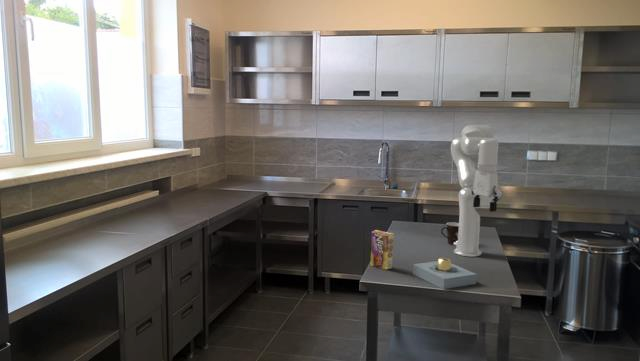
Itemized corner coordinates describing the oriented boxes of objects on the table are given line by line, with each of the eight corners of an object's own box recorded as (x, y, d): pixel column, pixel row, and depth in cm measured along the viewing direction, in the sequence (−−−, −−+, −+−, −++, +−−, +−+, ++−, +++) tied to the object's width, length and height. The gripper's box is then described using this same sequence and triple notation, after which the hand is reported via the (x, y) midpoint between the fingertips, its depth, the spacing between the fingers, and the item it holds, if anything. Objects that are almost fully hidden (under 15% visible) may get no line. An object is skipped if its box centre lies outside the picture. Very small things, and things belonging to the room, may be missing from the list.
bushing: (434, 277, 214) (435, 258, 213) (444, 276, 216) (445, 257, 215) (442, 281, 210) (443, 261, 209) (452, 279, 212) (453, 260, 211)
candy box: (392, 268, 226) (394, 233, 223) (386, 270, 222) (388, 234, 220) (376, 263, 232) (377, 229, 229) (370, 265, 228) (371, 231, 226)
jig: (412, 273, 218) (412, 264, 218) (443, 269, 225) (444, 260, 225) (443, 289, 201) (443, 278, 200) (476, 283, 207) (476, 274, 207)
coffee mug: (461, 241, 273) (462, 222, 272) (464, 246, 265) (465, 226, 263) (438, 240, 274) (439, 221, 273) (440, 244, 266) (441, 225, 264)
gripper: (466, 166, 226) (463, 206, 229) (495, 171, 211) (492, 213, 213) (479, 166, 230) (477, 205, 232) (509, 171, 214) (506, 212, 217)
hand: (484, 209), depth 223 cm, fingers open, 9 cm apart
